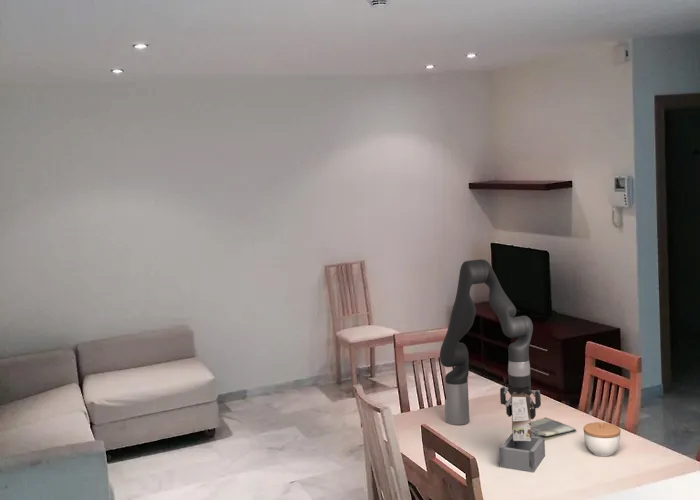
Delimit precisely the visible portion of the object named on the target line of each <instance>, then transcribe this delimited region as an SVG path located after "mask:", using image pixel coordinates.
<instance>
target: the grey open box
mask: <svg viewBox="0 0 700 500" xmlns="http://www.w3.org/2000/svg"><path fill="white" fill-rule="evenodd" d="M545 441H546V440H545V438H544V437H536V436H531V441H513V432H512V433H511V434H509V436H508V437H507V439H505V441H504V442H503V443H502V444H501V445H500V447H498V448H499V452H498V454H499V468H503V469H509V470H516V471H521V472H527V473H536V470H537V469H538V467H539V466H540V464H541V463H542V462H543V460H544V459H545V457H546V445H545Z"/></svg>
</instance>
